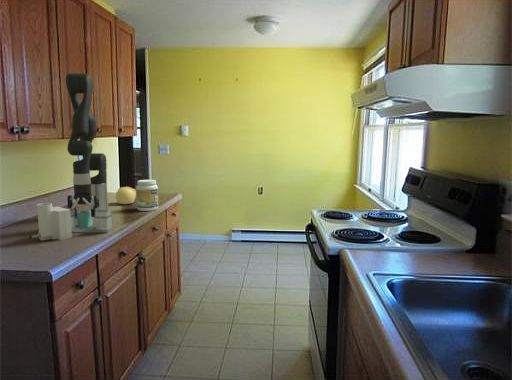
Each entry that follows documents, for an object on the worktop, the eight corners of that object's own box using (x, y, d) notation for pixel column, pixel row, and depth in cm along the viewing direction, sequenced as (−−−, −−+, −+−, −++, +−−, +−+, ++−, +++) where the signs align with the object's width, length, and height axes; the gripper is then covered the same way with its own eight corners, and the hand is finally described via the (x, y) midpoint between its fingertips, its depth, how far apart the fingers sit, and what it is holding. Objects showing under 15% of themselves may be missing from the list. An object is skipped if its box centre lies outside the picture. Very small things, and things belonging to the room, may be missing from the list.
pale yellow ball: (138, 202, 246) (138, 185, 244) (130, 205, 234) (129, 188, 232) (121, 201, 247) (120, 185, 245) (112, 205, 235) (111, 187, 234)
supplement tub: (156, 211, 218) (155, 181, 215) (134, 211, 217) (133, 182, 214) (160, 207, 230) (159, 179, 227) (139, 207, 229) (138, 179, 226)
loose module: (82, 224, 187) (81, 209, 186) (92, 224, 187) (91, 209, 185) (77, 227, 182) (76, 211, 181) (88, 227, 182) (87, 211, 180)
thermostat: (72, 237, 164) (69, 203, 161) (36, 245, 153) (33, 208, 151) (59, 232, 171) (56, 199, 169) (24, 239, 160) (21, 204, 158)
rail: (65, 229, 177) (63, 209, 176) (112, 229, 176) (111, 209, 175) (58, 232, 172) (57, 211, 170) (107, 232, 171) (106, 212, 170)
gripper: (100, 182, 184) (102, 215, 186) (71, 182, 185) (73, 215, 187) (93, 184, 177) (95, 218, 179) (63, 183, 177) (65, 218, 179)
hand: (84, 216), depth 183 cm, fingers open, 8 cm apart
